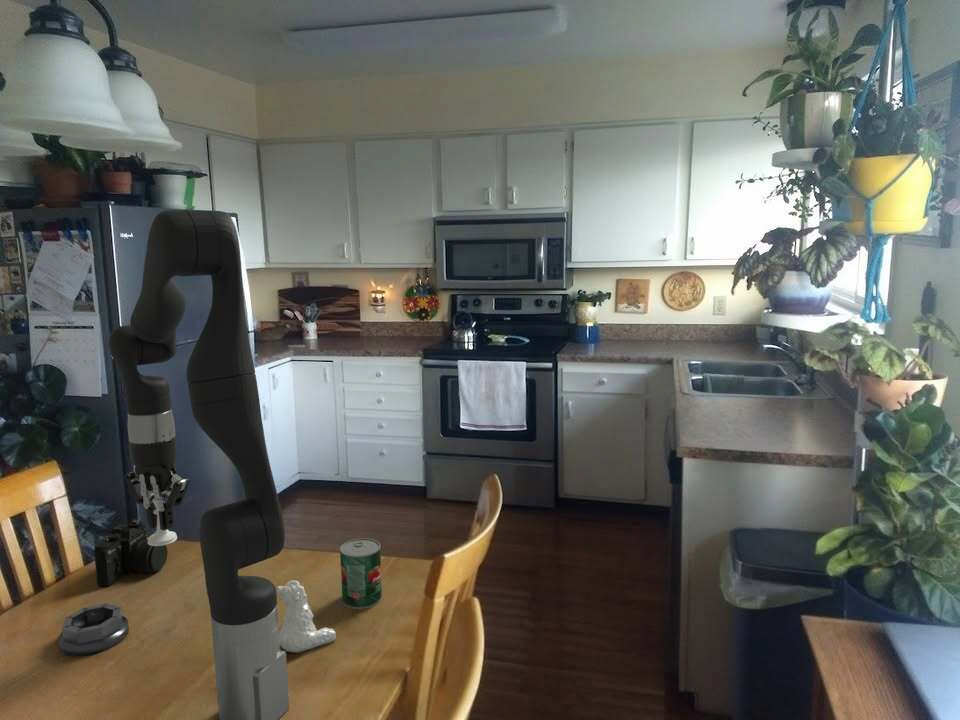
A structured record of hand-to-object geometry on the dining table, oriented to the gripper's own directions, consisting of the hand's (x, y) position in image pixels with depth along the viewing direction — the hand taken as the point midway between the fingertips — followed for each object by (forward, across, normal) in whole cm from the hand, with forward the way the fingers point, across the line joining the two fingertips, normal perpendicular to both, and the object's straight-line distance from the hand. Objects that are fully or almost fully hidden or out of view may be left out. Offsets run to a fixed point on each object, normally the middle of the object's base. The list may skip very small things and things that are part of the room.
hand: (161, 527), depth 124 cm
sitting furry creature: (+19, +27, +3) cm, 33 cm away
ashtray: (+19, -9, -9) cm, 23 cm away
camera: (+19, -22, +12) cm, 32 cm away
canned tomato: (+19, +29, +20) cm, 40 cm away
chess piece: (+3, 0, 0) cm, 3 cm away
